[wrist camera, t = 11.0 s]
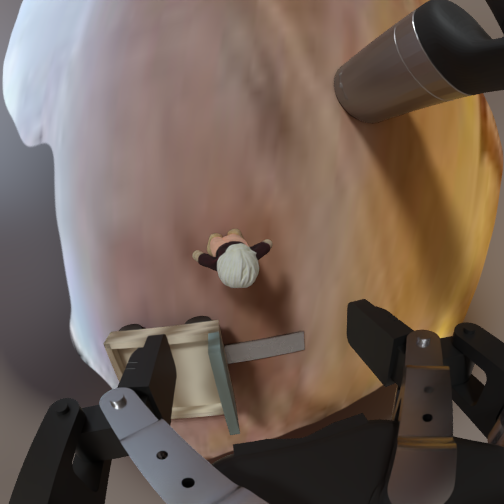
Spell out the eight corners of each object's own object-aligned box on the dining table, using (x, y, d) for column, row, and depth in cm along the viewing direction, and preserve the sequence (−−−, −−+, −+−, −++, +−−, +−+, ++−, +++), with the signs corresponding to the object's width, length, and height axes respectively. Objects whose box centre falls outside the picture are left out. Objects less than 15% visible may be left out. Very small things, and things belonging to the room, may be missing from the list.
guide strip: (303, 330, 37) (303, 331, 36) (303, 348, 37) (304, 349, 37) (119, 355, 34) (118, 356, 34) (126, 372, 35) (125, 373, 34)
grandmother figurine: (205, 268, 33) (201, 314, 21) (193, 239, 32) (181, 269, 20) (266, 245, 33) (296, 278, 21) (255, 215, 32) (281, 231, 20)
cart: (217, 312, 34) (220, 351, 25) (233, 388, 37) (240, 433, 28) (115, 324, 33) (92, 362, 24) (144, 396, 36) (133, 439, 27)
